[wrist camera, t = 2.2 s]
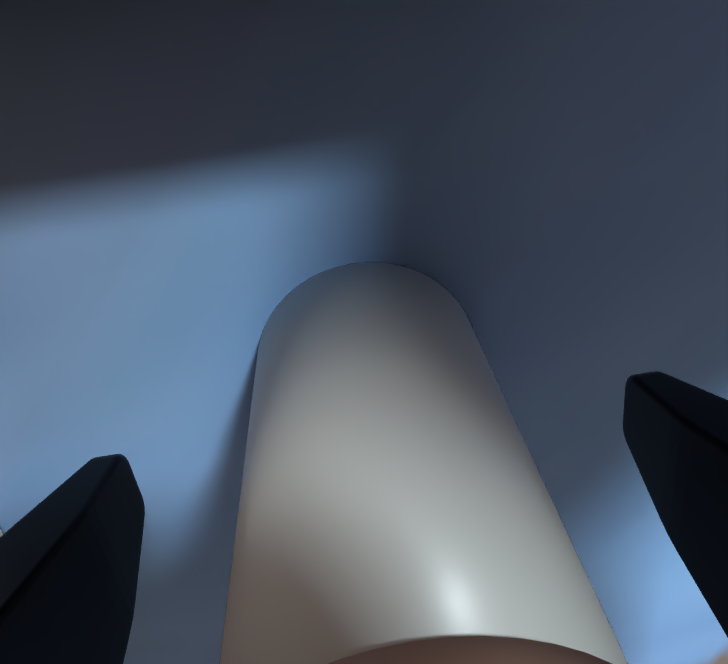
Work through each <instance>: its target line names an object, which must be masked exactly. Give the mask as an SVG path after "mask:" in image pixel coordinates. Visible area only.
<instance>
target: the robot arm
mask: <svg viewBox="0 0 728 664" xmlns="http://www.w3.org/2000/svg"><path fill="white" fill-rule="evenodd" d="M623 431H624V436H625V439H626V442H627V444H628V447H629V449H630V451H631V453H632V456H633V458H634V460H635V462H636V465H637V467H638V469H639V471H640V474H641V476H642V478H643V481H644V483H645V485H646V487H647V490H648V492H649V494H650V496H651V499H652V501H653V503H654V506H655V508H656V510H657V512H658V515H659V517H660V519H661V521H662V523H663V525H664V528H665V530H666V532H667V534H668V536H669V538H670V539H671V541H672V543H673V545H674V547H675V548H676V550H677V552H678V554H679V555H680V557H681V559H682V560H683V562H684V564H685V566H686V567H687V569H688V571H689V572H690V574H691V576H692V578H693V579H694V581H695V583H696V584H697V586H698V588H699V589H700V591H701V593H702V595H703V596H704V598H705V600H706V601H707V603H708V605H709V606H710V608H711V610H712V612H713V613H714V615H715V617H716V618H717V620H718V622H719V623H720V625H721V627H722V629H723V630H724V632H725V634H726V635H727V637H728V400H726V399H723V398H721V397H719V396H716V395H714V394H712V393H709V392H707V391H705V390H702V389H700V388H698V387H695V386H693V385H690V384H688V383H686V382H683V381H681V380H679V379H676V378H674V377H672V376H669V375H667V374H665V373H662V372H658V371H654V372H648V373H642V374H635V375H631V376H630V377H629V378H628V379H627V382H626V386H625V399H624V414H623ZM144 516H145V508H144V501H143V498H142V495H141V492H140V490H139V487H138V485H137V482H136V479H135V477H134V474H133V472H132V469H131V466H130V464H129V462H128V460H127V458H126V457H125V456H123V455H121V454H114V455H108V456H101V457H95V458H93V459H91V460H90V461H88V462H87V463H86V464H85V465H84V466H83V467H81V468H80V469H79V470H78V471H77V472H76V473H74V474H73V475H72V476H71V477H70V478H69V479H67V480H66V481H65V482H64V483H63V484H62V485H60V486H59V487H58V488H57V489H56V490H55V491H53V492H52V493H51V494H50V495H49V496H48V497H46V498H45V499H44V500H43V501H42V502H41V503H39V504H38V505H37V506H36V507H35V508H34V509H32V510H31V511H30V512H29V513H28V514H27V515H25V516H24V517H23V518H22V519H21V520H20V521H18V522H17V523H16V524H15V525H14V526H13V527H11V528H10V529H9V530H8V531H7V532H6V533H4V534H3V535H2V536H1V537H0V664H123V662H124V657H125V653H126V649H127V644H128V640H129V635H130V630H131V625H132V620H133V615H134V607H135V600H136V590H137V581H138V572H139V563H140V553H141V544H142V535H143V526H144Z"/></svg>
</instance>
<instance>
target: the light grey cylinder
mask: <svg viewBox="0 0 728 664" xmlns="http://www.w3.org/2000/svg"><path fill="white" fill-rule="evenodd" d="M219 664H628V663H627V661H626V658H625V656H624V654H623V652H622V650H621V648H620V645H619V643H618V641H617V639H616V637H615V635H614V632H613V630H612V628H611V626H610V624H609V622H608V620H607V617H606V615H605V613H604V611H603V609H602V607H601V604H600V602H599V600H598V598H597V596H596V594H595V592H594V589H593V587H592V585H591V583H590V581H589V579H588V576H587V574H586V572H585V570H584V568H583V566H582V563H581V561H580V559H579V557H578V555H577V553H576V551H575V548H574V546H573V544H572V542H571V540H570V538H569V535H568V533H567V531H566V529H565V527H564V525H563V523H562V520H561V518H560V516H559V514H558V512H557V510H556V507H555V505H554V503H553V501H552V499H551V497H550V494H549V492H548V490H547V488H546V486H545V484H544V482H543V479H542V477H541V475H540V473H539V471H538V469H537V466H536V464H535V462H534V460H533V458H532V456H531V454H530V451H529V449H528V447H527V445H526V443H525V441H524V438H523V436H522V434H521V432H520V430H519V428H518V425H517V423H516V421H515V419H514V417H513V415H512V413H511V410H510V408H509V406H508V404H507V402H506V400H505V397H504V395H503V393H502V391H501V389H500V387H499V385H498V382H497V380H496V378H495V376H494V374H493V372H492V369H491V367H490V365H489V363H488V361H487V359H486V356H485V354H484V352H483V350H482V348H481V346H480V344H479V341H478V339H477V337H476V335H475V333H474V331H473V328H472V326H471V324H470V322H469V320H468V318H467V316H466V314H465V311H464V310H463V309H462V307H461V306H460V304H459V303H458V301H457V300H456V299H455V298H454V297H453V296H452V294H451V293H450V292H449V291H448V290H446V289H445V288H444V287H443V286H442V285H440V284H439V283H438V282H436V281H435V280H433V279H431V278H430V277H428V276H426V275H424V274H422V273H420V272H418V271H415V270H413V269H410V268H406V267H403V266H400V265H394V264H388V263H376V262H365V263H354V264H348V265H344V266H339V267H335V268H333V269H330V270H327V271H324V272H321V273H319V274H317V275H315V276H313V277H311V278H309V279H308V280H306V281H305V282H303V283H302V284H300V285H299V286H297V287H296V288H295V289H293V290H292V291H291V292H290V293H289V294H288V295H287V296H285V298H284V299H283V300H282V301H281V302H280V303H279V304H278V305H277V307H276V308H275V310H274V311H273V313H272V314H271V316H270V317H269V319H268V321H267V323H266V325H265V327H264V329H263V332H262V335H261V338H260V342H259V347H258V354H257V362H256V370H255V379H254V387H253V395H252V403H251V411H250V419H249V427H248V435H247V444H246V452H245V460H244V468H243V476H242V484H241V492H240V501H239V509H238V517H237V525H236V533H235V541H234V549H233V558H232V566H231V574H230V582H229V590H228V598H227V606H226V614H225V623H224V631H223V639H222V647H221V655H220V663H219Z"/></svg>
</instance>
